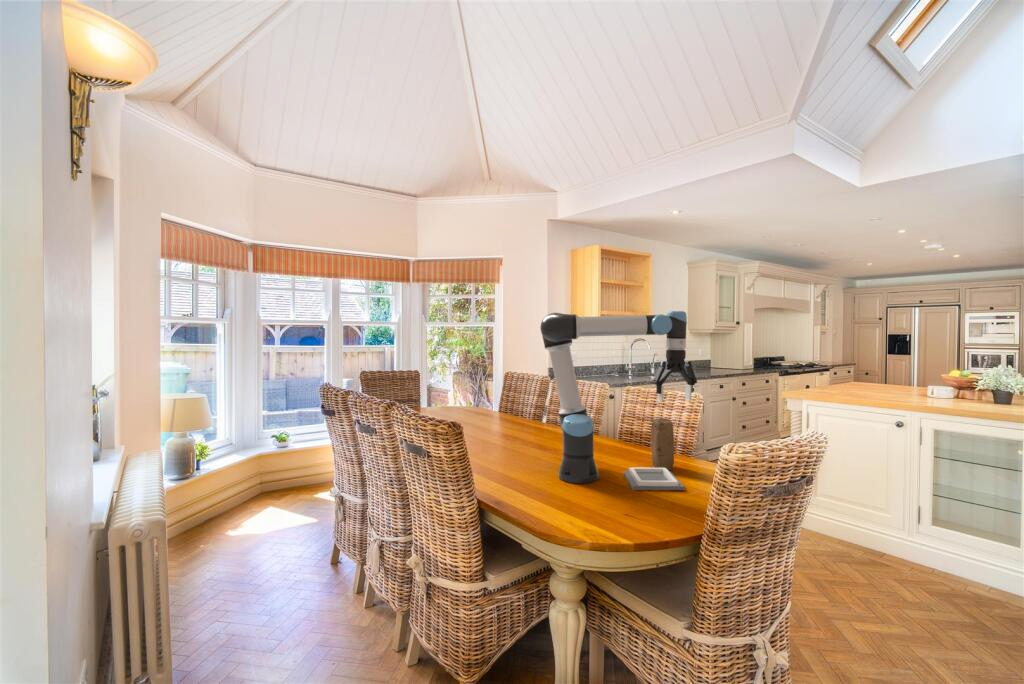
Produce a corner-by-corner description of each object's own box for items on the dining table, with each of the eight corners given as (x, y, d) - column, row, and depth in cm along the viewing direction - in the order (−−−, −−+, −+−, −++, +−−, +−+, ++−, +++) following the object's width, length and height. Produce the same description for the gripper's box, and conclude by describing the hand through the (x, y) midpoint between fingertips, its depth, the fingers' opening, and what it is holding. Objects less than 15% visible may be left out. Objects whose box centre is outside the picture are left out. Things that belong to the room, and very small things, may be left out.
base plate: (632, 490, 166) (632, 482, 166) (623, 474, 184) (623, 467, 184) (684, 491, 165) (684, 482, 165) (670, 474, 183) (670, 467, 183)
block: (675, 472, 187) (675, 422, 186) (656, 472, 187) (656, 422, 186) (667, 464, 197) (667, 417, 197) (649, 464, 198) (649, 417, 197)
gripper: (655, 349, 183) (654, 403, 183) (707, 349, 191) (705, 401, 192) (644, 348, 190) (642, 400, 191) (694, 348, 198) (692, 398, 199)
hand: (674, 401), depth 191 cm, fingers open, 13 cm apart
